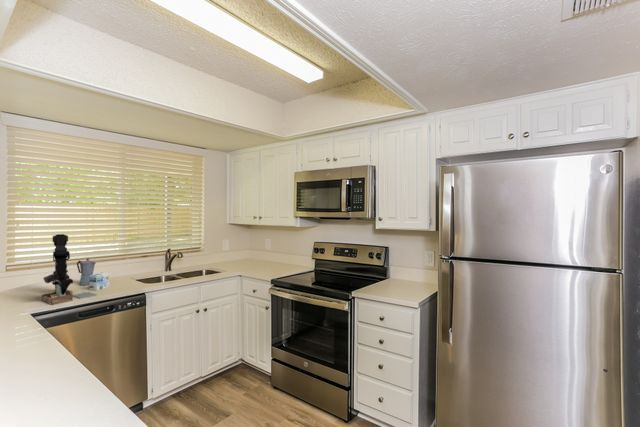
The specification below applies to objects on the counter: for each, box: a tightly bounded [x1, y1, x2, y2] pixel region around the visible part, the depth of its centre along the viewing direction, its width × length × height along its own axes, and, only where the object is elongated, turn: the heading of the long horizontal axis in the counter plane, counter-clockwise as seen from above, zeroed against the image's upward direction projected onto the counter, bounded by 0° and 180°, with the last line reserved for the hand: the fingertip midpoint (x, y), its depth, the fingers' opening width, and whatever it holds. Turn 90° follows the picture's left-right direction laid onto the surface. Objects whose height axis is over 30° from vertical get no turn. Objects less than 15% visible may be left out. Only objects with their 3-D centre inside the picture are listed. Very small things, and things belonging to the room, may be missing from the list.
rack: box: [41, 289, 74, 306], centre depth 204 cm, size 16×10×6 cm, turn 58°
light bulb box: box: [89, 272, 110, 291], centre depth 237 cm, size 11×7×11 cm, turn 168°
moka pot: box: [76, 258, 96, 286], centre depth 250 cm, size 10×15×20 cm, turn 89°
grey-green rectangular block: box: [56, 284, 66, 297], centre depth 206 cm, size 6×3×10 cm, turn 58°
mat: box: [73, 291, 98, 299], centre depth 217 cm, size 12×10×1 cm
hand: (61, 293), depth 206 cm, fingers closed on grey-green rectangular block, 5 cm apart
